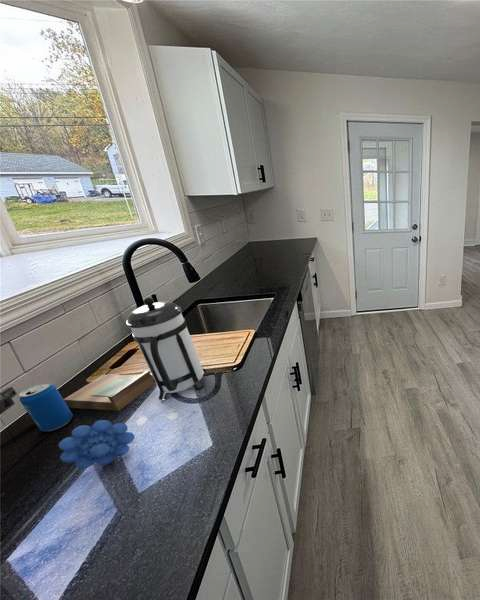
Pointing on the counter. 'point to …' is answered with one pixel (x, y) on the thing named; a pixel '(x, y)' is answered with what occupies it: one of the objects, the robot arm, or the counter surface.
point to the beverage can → (46, 406)
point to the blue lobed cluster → (96, 444)
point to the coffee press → (166, 346)
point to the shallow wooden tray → (110, 392)
